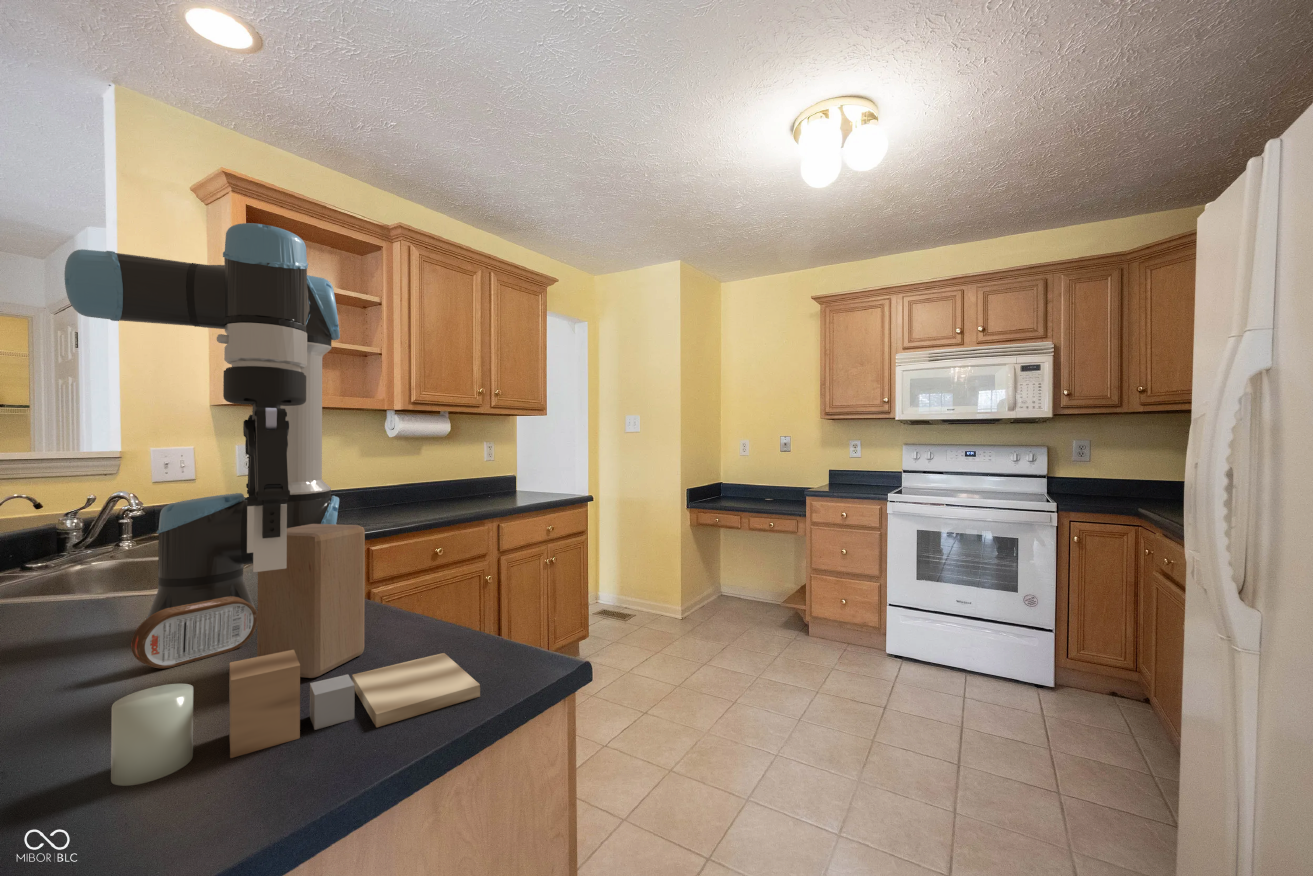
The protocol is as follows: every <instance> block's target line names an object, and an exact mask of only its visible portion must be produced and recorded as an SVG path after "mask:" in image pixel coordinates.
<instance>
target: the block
mask: <svg viewBox="0 0 1313 876" xmlns="http://www.w3.org/2000/svg"><path fill="white" fill-rule="evenodd" d="M365 535H366V530H365V528H364V527H363V526H361V525H358V524H337V523H336V524H309V525H303V526H297V527H291V528H287V568H285V569H277V570H268V571H260V572H257V615H258V618H257V626H256V629H257V630H256V631H257V632H256V633H257V634H256V635H257V636H256V638H257V639H256V641H257V643H256V644H257V650H256V651H257V653H256V654H257V655H256V657H259V656H264V655H269V654H274V653H279V652H284V651H289V650H294V651H295V654H296V656H297V659H298V661H299V664H300V678H307V679H315V678H318V677H320V676H322V675H323V674H326V673H327V672H330V671H331V670H334V669H336V668H337V667H339V666H341V665H343V664H346V663H347V662H350V661H351V660H353V659H355V658H356V657H359V656H361V655H362V654H363V653H364V650H365V599H366V598H365V593H366V592H365V590H366V589H365V582H366V581H365V580H366V579H365V576H366V573H365V566H366V565H365V562H366V557H365V555H366V554H365V553H366V552H365V549H366V547H365V545H366V544H365V543H366V541H365V540H366V538H365Z"/></svg>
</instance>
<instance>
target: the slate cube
mask: <svg viewBox="0 0 1313 876" xmlns="http://www.w3.org/2000/svg"><path fill="white" fill-rule="evenodd" d="M355 694H356V692H355V685H354V683H353V682H352V677H350V675H349V674H348V673H347V674H343V675H339V676H334V677H331V678H330V677H329V678H327V679H323V680H319V681H314V682H310V683H309V718H310V721H311V724H312V727H313V730H314V731H315V730H320V729H323V728H326V727H329V726H333V725H337V724H338V725H339V724H341V723H344V722H347V721H351V720H354V719H355V707H356V706H355V704H356V703H355V699H356V698H355Z"/></svg>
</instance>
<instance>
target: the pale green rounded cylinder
mask: <svg viewBox="0 0 1313 876" xmlns="http://www.w3.org/2000/svg"><path fill="white" fill-rule="evenodd" d="M110 728H111V738H110V739H111V741H110V743H111V744H110V745H111V746H110V748H111V749H110V751H111V752H110V758H111V759H110V761H111V762H110V771H111V772H110V782H111V783H112V784H113V785H115V786H121V787H123V786H126V787H128V786H135V785H141V784H146V783H149V782H153V781H156V780H159V779H162V778H164V777H167V776H169V775H171V774H173V773H176V772H178V771H179V770H181V769H182V768H184V767H186V766H187V765H188V764H189V763H190V762H191V761H192V759H193V758H194V686H193V685H191V684H188V683H170V684H162V685H158V686H153V687H149V688H145V689H142V690H138V691H135V692H133V693H130V694H127V695H125V696H123V697H121V698H118V699H117V700H116V701H115V702H114V703H113V704H112V705H111V727H110Z"/></svg>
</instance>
